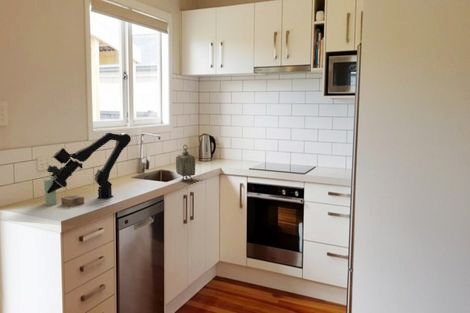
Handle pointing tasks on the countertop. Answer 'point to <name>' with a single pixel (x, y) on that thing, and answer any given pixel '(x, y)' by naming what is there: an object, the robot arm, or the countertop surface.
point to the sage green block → (49, 197)
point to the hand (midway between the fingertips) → (47, 191)
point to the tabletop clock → (185, 164)
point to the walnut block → (72, 200)
